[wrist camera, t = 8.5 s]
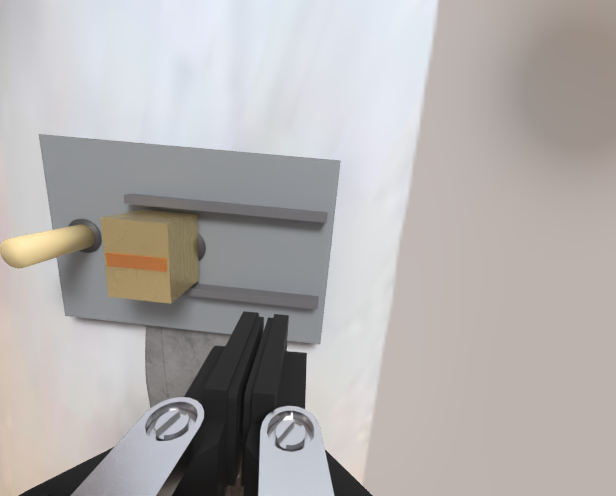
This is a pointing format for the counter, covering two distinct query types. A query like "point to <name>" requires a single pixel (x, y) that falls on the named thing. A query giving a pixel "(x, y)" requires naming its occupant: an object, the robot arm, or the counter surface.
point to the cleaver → (179, 366)
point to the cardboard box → (150, 254)
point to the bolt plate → (211, 230)
